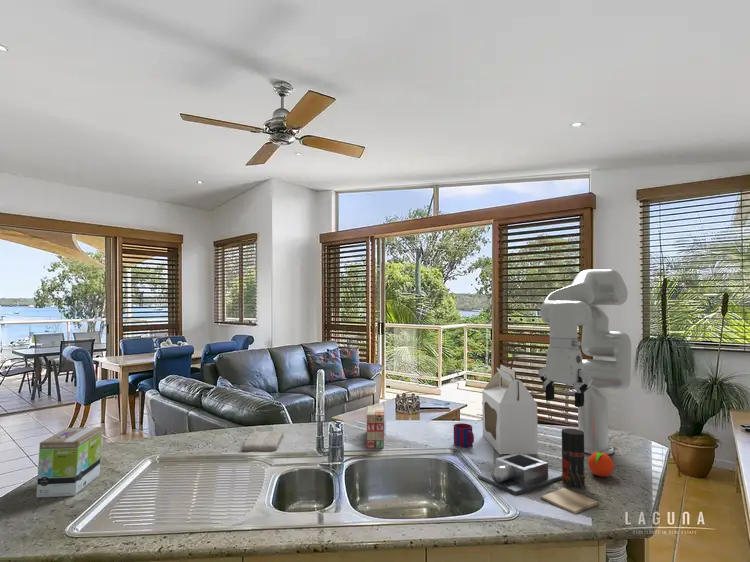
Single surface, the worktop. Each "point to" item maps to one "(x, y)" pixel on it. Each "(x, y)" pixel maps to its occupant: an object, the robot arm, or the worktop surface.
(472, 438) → the mug
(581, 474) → the deodorant
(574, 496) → the coaster
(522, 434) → the gable box
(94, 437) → the tea box
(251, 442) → the washcloth
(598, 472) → the clementine
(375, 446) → the stack of blocks
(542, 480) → the grey square holder
